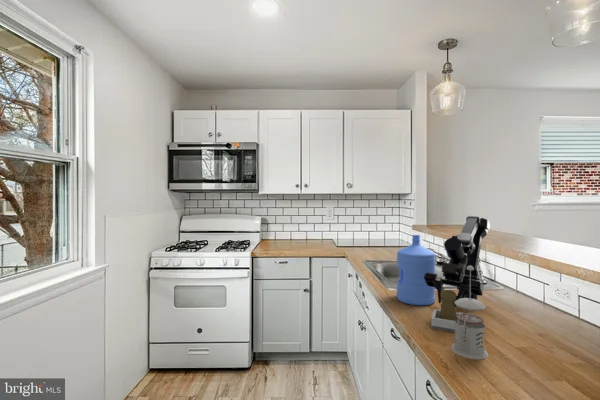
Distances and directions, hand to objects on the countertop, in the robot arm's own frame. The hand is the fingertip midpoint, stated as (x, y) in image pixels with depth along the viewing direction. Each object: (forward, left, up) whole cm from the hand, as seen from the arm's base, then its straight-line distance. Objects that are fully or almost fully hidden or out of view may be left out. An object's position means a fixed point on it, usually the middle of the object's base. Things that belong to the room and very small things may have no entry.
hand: (447, 304), depth 113 cm
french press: (+17, +6, -8) cm, 20 cm away
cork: (-1, 0, -7) cm, 7 cm away
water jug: (-25, -13, -8) cm, 30 cm away
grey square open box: (-1, 0, -8) cm, 8 cm away
